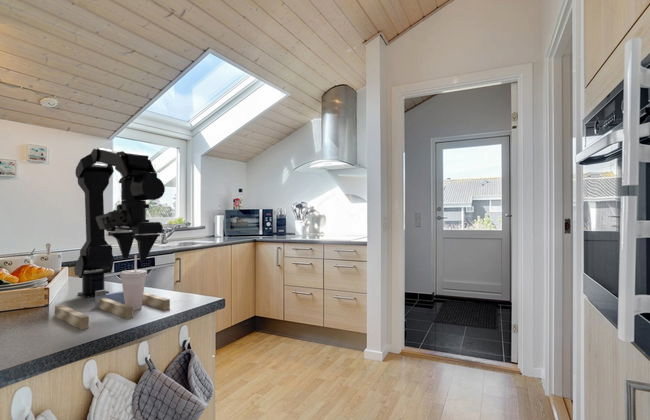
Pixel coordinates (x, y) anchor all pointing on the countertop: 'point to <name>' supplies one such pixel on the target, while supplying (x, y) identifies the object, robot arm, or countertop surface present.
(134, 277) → the smoothie
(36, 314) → the countertop surface
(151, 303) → the divider rack
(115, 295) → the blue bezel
